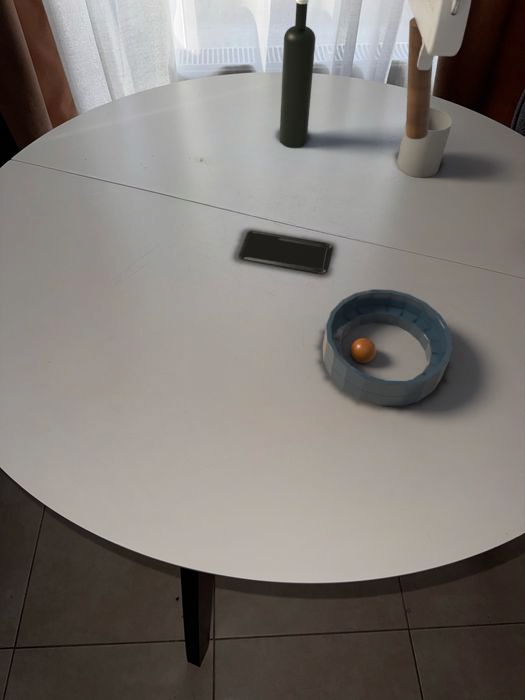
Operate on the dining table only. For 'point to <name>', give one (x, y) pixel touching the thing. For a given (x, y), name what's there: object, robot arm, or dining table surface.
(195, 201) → the dining table surface
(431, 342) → the blue faceted ring
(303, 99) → the wine bottle
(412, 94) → the stirring stick
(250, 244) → the phone
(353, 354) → the bead
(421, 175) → the cup
